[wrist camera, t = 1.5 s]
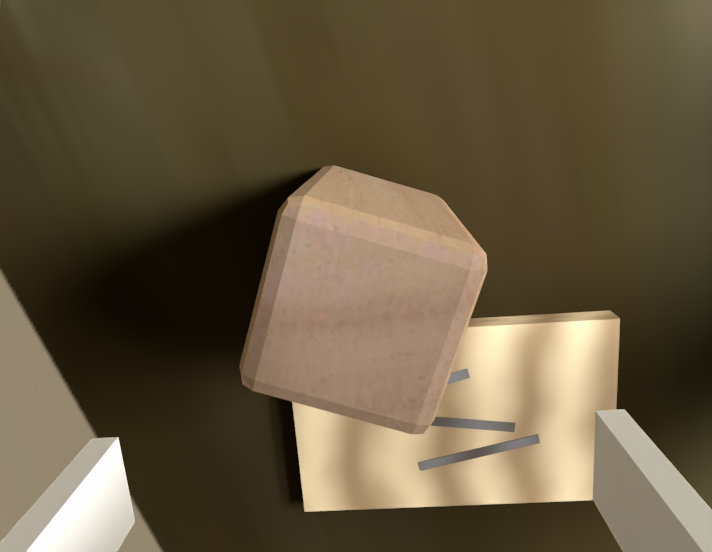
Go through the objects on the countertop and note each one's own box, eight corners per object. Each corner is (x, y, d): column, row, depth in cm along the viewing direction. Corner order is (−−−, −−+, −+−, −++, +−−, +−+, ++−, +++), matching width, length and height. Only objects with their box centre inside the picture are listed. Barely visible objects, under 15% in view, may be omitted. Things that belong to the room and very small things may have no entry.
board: (610, 310, 47) (620, 319, 45) (603, 484, 51) (612, 500, 49) (288, 329, 48) (284, 338, 46) (307, 497, 52) (304, 512, 50)
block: (409, 315, 48) (429, 448, 28) (290, 281, 47) (229, 393, 28) (447, 197, 45) (499, 254, 26) (322, 160, 45) (279, 191, 25)
